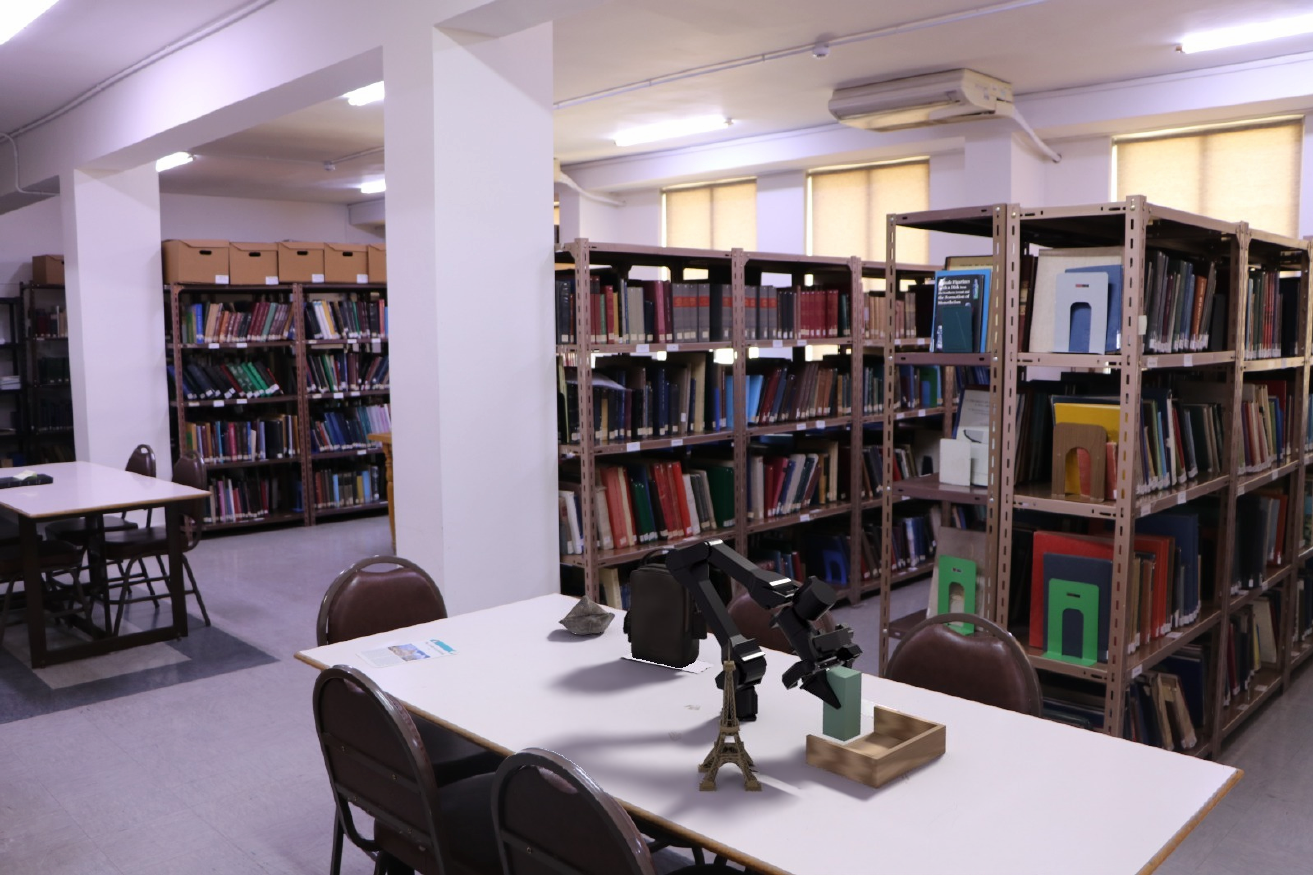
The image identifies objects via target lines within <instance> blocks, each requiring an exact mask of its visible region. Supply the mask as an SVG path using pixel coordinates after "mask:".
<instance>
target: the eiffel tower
mask: <svg viewBox="0 0 1313 875" xmlns="http://www.w3.org/2000/svg"><path fill="white" fill-rule="evenodd" d="M722 670H725V671H726V673H725V685H724V697H723V696H722V708H723V710H722V709H721V714H722V715H721V718H719V719H718V730H719V731H718V736H717V739H716V740H713V747H712V749H711V750H710V751H709V753H708V754H707V755H706V757H705V758H704V759H703V762H702V763H701V764H698V772H699V773H706V774H705V776H704V777H703V778H702V781H701V782H699V792H716V791H717V788H716V787H717V786H716V783H717V782H716V779H717V776H718V773H719V769H720V768H722V766H724V765H726V764H734V765H736V766H737V767H739V768H740V770H741V773H742V774H743V777H744V789H745V792H762V791H763V789H762V784H761V782H759V781H758V778H757V777H756V776H755V775H754V774H753V773H759V771H757V770H754V769H752V768H750V767H755V766H756V765H755V763H754V760H753V759H752V757H751V755H750V754H749V753H748V751H747V750H746V749H745V742H744V741H742V738H741V737H740V734H739V732H740V731H741V728H740V720H738V718H737V719H736V709H735V696H734V684H733V673H732V671H734V670H736V669H735V665H734V661H730V651H728V661H724V665H722ZM729 696H730V710H731V720H728V704H729ZM726 737H733V740H734V742H731V741H730V742H729V741H727V742H726Z"/></svg>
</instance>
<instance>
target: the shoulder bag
mask: <svg viewBox="0 0 1313 875" xmlns="http://www.w3.org/2000/svg"><path fill="white" fill-rule="evenodd" d="M674 548H675V547H662V546H660V547H657V548H656V547H655V548H653V549H652V550H651V551H649V552H648V553H646V554H645V555H643V556H642V558H641V559H640V561H638V565H637V568H636V570H635V569H634V570H632V571H631V572H630V574H629V585H630V593H629V594H630V605H628V606H626V613H625V615H624V617H623V625H622V626H623V627H622V633H623V634H624V635H627V642H628V643H630V653H632V657H633V658H636V659H642V660H646V661H650V662H654V663H657V664H664V665H667V666H671V667H675V668H683V667H686V666H688V665H689V664H692V663H694V662H695V661H696V660H698V658H699V656H700V640H701V641H702V640H703V641H704V640H707V639H708V624H707V622H706V620H705V618H704V616H703V615H702V613H701V611H700V609H699V607H698V606H697V604H696V602H695V600H694V599H693V597H692V595H691V593H690V591H689V590H688V589H687V588H686V587H684V586H683V585H681V584H680V583H678V582H677V581H675V579H674V578H673V577H672V575H671V574H670V573H669V571H668V570H667V568H666V565H665V563H664V564H663V563H647V562H648V561H649V559H650V558H651V556H652V555H654V554H656V553H657V552H659V551H660V552H661V551H666V552H668V551H669V550H671V549H674Z"/></svg>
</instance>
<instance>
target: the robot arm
mask: <svg viewBox="0 0 1313 875" xmlns="http://www.w3.org/2000/svg"><path fill="white" fill-rule="evenodd" d="M673 548H674V549H671V550H669V551H667V553H666V556H665V560H664V564H665V565H666V568H667V570H668V571H669V573H670V574H671V575H672V577H673V578H674V579H675V581H677V582H678V583H680V584H681V585H683V586H684V587H686V588H687V589H688V590H689V591H690V593H691V595H692V597H693V599H694V600H695V602H696V604H697V606H698V607H699V609H700V611H701V613H702V615H703V616H704V618H705V620H706V622H707V626H708V627H709V629H710V630H711V632H712V634H713V636H714V638H715V640H716V641H717V643H718V645H719V647H720V662H721V665H722V666H723V665H724V661H728V651H730V661H734V665H735V669H736V670H734V671H732V673H733V684H734V696H735V709H736V719H737V718H738V721H757V720H758V717H757V715H758V714H759V695H758V693H757V690H756V686H757V685H761V683H762V681H763V677H764V676H765V674H766V672H767V666H768V663H767V660H766V657H765V656H766V653H765V652H764V651H763V649H761V647H760V644H759V643H758V640H756V638H755V637H754V638H750V639H748V638H746V637H744V636H743V635H742V634H741V632H740V630H739V628H738V626H737V625H736V624H735V622H734V620H733V618H732V616H731V615H730V612H729V611H728V610H727V608H726V606H725V604H724V602H723V600H722V599H721V597H720V595H719V594H718V592H717V590H716V589H715V587H714V585H713V583H712V582H711V580H710V577H709V574H710V573H709V572H710V570H709V569H710V567H709V566H710V565H709V563H711V564H712V565H713V566H714V567H716V568H717V569H719V570H720V571H723V573H724V574H727V575H728V576H729V577H731V578H732V579H733V580H735V581H736V582H737V583H739V584H740V585H742V586H743V587H744V588H745V589H746V590H747V593H748V596H749V597H750V598H751V599H752V601H754V603H756V605H757V606H759V607H760V608H761V609H763V611H769V610H770V611H771V610H773V609H777V608H781V607H782V608H781V609H780V610H779V611H777V612H773V613H770V620H769V622H768V627H769V629H773V628H777V627H779V628H780V629H781V631H782V633H783V634H784V636H785V638H786V639H787V640H788V642H789V644H790V645H791V646H790V647H789V648H788V651H789V653H790V654H794V653H796V654H797V656H798V658H799V659H800V660H799V661H797V662H796V661H795V662H794V663H793V664H792V665H791V666H790V667H789V668H788V669H787V670H786V671H785V672H783V673H782V675H781V683H782V685H783V686H784V687H785V690H787V691H789V690H791V689H794V688H797V686H798V685H799V681H800V680H801V682H802V684H801V685H799V689H800V691H801V690H804V691H806V692H807V693H809V694H811V695H813V696H815V697H816V698H818V699H820V700H821V701H822V702H823V701H824V702H826V703H827V704H829V705H830V706H832V707H834V708H835V709H837V710H838V709H840V708H841V704H840V702H839V700H838V698H837V696H836V695H835V693H834V691H833V689H832V688H831V686H830V684H829V683H828V681H827V672H826V671H827V670H830V669H832V668H835V667H838V666H842V667H846V668H849V669H853V664H854V663H855V661H856V660H857V659H858V658H859V657H861V656H862V655H863V654H864V652H863V650H862V649H861V648H860V645H859V644H857V643H853V642H852V639H853V638H854V636H855V635H854V631H853V630H852V628H851V627H850V625H849V624H848V623H847V622H843V623H840V624H836V625H835V626H834V631H830V632H827V633H826V631H825V629H823V628H822V627H821V628H816V626H815V625H814V623H813V622H816V621H818V620H819V619H820V618H821V617H823V615H824V614H826V613H827V612H828V610H829V609H831V608H832V607H833V606H834V605H835V604H836V602H837V600H838V598H837V594H836V592H835V590H834V588H833V587H832V586H830V585H829V584H828V583H826V582H824V581H822V580H820V579H818V577H817V576H816V575H812V576H808V577H807V578H806V579H805V580H804V582H803V584H802V585H797V584H795V583H793V582H792V580H791V579H790V578H789V577H787V576H784V575H782V574H780V573H778V572H776V571H771V570H767V569H766V570H765V569H764V568H760V567H759V566H757V565H756V564H755V563H753V562H751V561H750V560H749V559H747V558H746V557H744V556H742V555H741V554H740V553H738V551H735V550H734V549H733V548H732V547H731V546H730V547H729V546H728V545H727V544H725V543H724V541H723V540H722V539H721V538H717V537H714V538H708V539H703V540H701V541H699V542H697V543H695V544H689V545H685V546H680V547H673ZM791 603H792V604H791ZM725 673H726V671H725V670H723V669H722V670H721V672H719V673H718V674H717V675H716V676H715V677H714V682H715V685H716V688H717V689H719V690H721V691H722V698H723V697H724V685H725ZM722 710H723V707H722V708H721V711H722ZM728 720H731V710H730V696H729V704H728Z"/></svg>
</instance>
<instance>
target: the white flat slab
mask: <svg viewBox="0 0 1313 875" xmlns="http://www.w3.org/2000/svg"><path fill="white" fill-rule="evenodd" d="M876 705H878V706H881V707H884V708H888V709H891V710H895V711H898V712H901V711H900V710H898V709H894V708H892V707H889V706H886V705H882V704H879V703H876V702H872V701H870V700H867V699H863V698H861V715H864V716H867V717H870V718H874V706H876Z"/></svg>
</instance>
